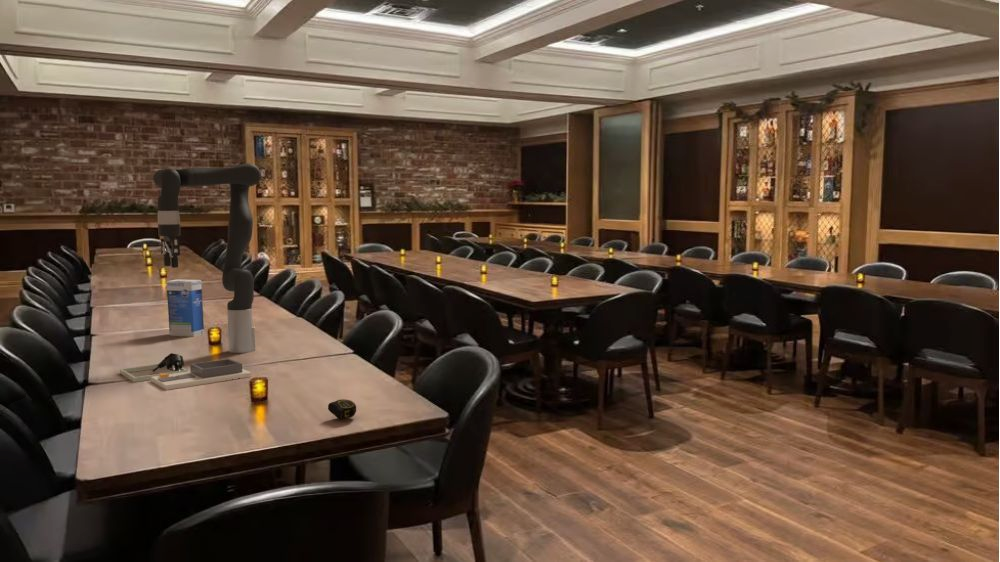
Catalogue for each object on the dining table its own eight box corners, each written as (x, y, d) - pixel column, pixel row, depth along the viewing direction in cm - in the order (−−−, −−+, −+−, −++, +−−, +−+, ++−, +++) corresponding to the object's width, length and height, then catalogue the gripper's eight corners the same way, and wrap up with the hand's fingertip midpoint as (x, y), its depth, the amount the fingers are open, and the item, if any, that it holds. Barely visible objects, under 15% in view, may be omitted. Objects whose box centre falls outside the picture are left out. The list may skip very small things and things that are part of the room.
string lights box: (204, 336, 332) (202, 279, 329) (193, 339, 324) (191, 281, 322) (180, 335, 335) (177, 279, 333) (168, 338, 328) (165, 280, 325)
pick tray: (172, 366, 270) (171, 362, 270) (188, 374, 257) (188, 370, 257) (119, 373, 259) (119, 369, 259) (133, 382, 246) (133, 377, 245)
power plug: (158, 371, 263) (185, 353, 262) (162, 388, 259) (189, 369, 258) (146, 366, 259) (173, 347, 258) (150, 383, 254) (177, 364, 253)
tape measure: (326, 412, 205) (327, 400, 204) (348, 409, 209) (349, 397, 209) (337, 423, 200) (338, 410, 199) (359, 419, 204) (360, 406, 203)
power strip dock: (233, 368, 265) (233, 356, 265) (251, 376, 253) (250, 363, 253) (151, 381, 247) (150, 368, 247) (166, 390, 235) (165, 376, 235)
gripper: (185, 223, 269) (187, 267, 270) (173, 222, 279) (175, 265, 281) (164, 223, 264) (166, 268, 266) (152, 223, 275) (154, 266, 276)
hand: (171, 266), depth 273 cm, fingers open, 8 cm apart
